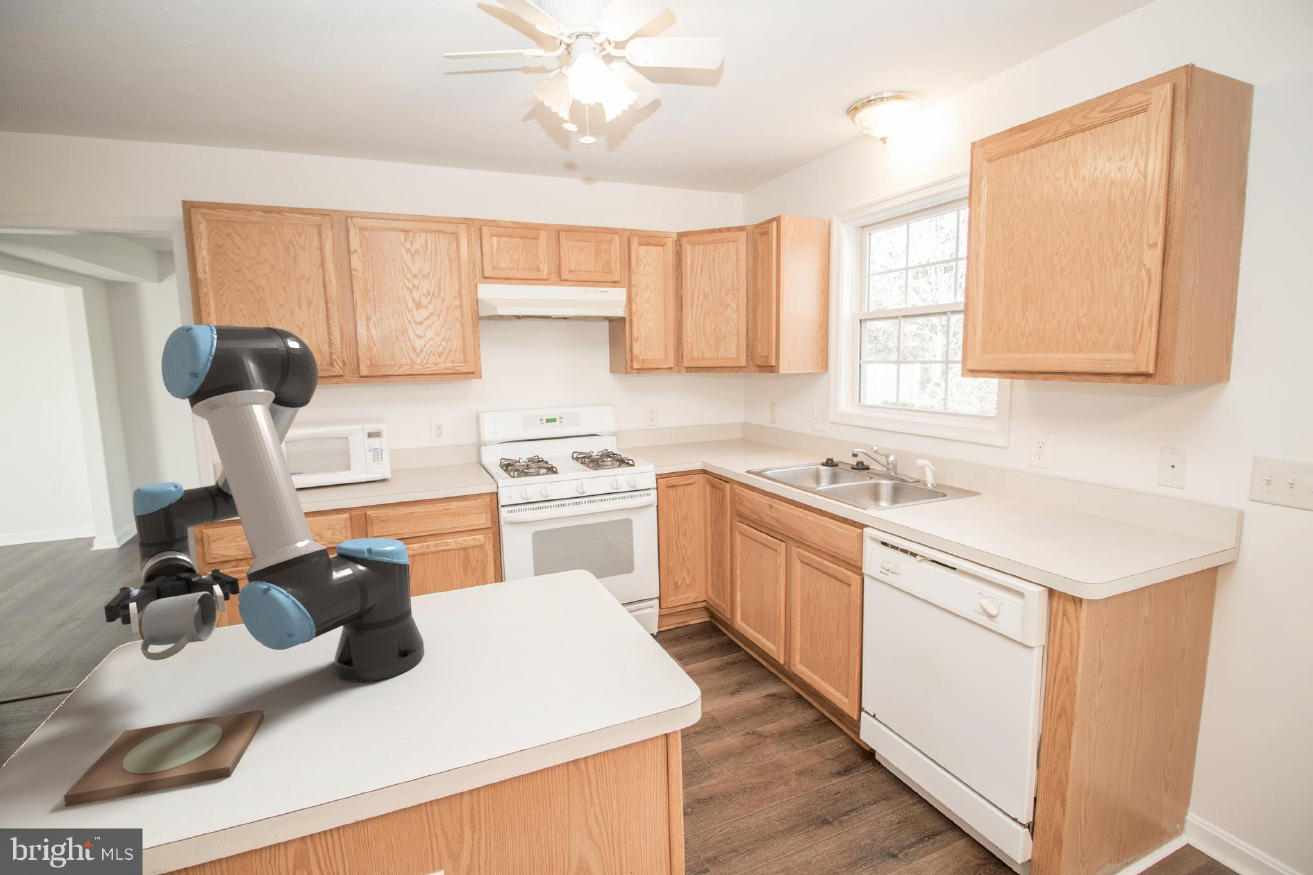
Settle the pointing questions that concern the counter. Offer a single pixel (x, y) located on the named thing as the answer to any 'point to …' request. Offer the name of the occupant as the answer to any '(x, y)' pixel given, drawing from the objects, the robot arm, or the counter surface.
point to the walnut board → (168, 757)
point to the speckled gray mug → (177, 623)
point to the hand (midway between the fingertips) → (179, 613)
